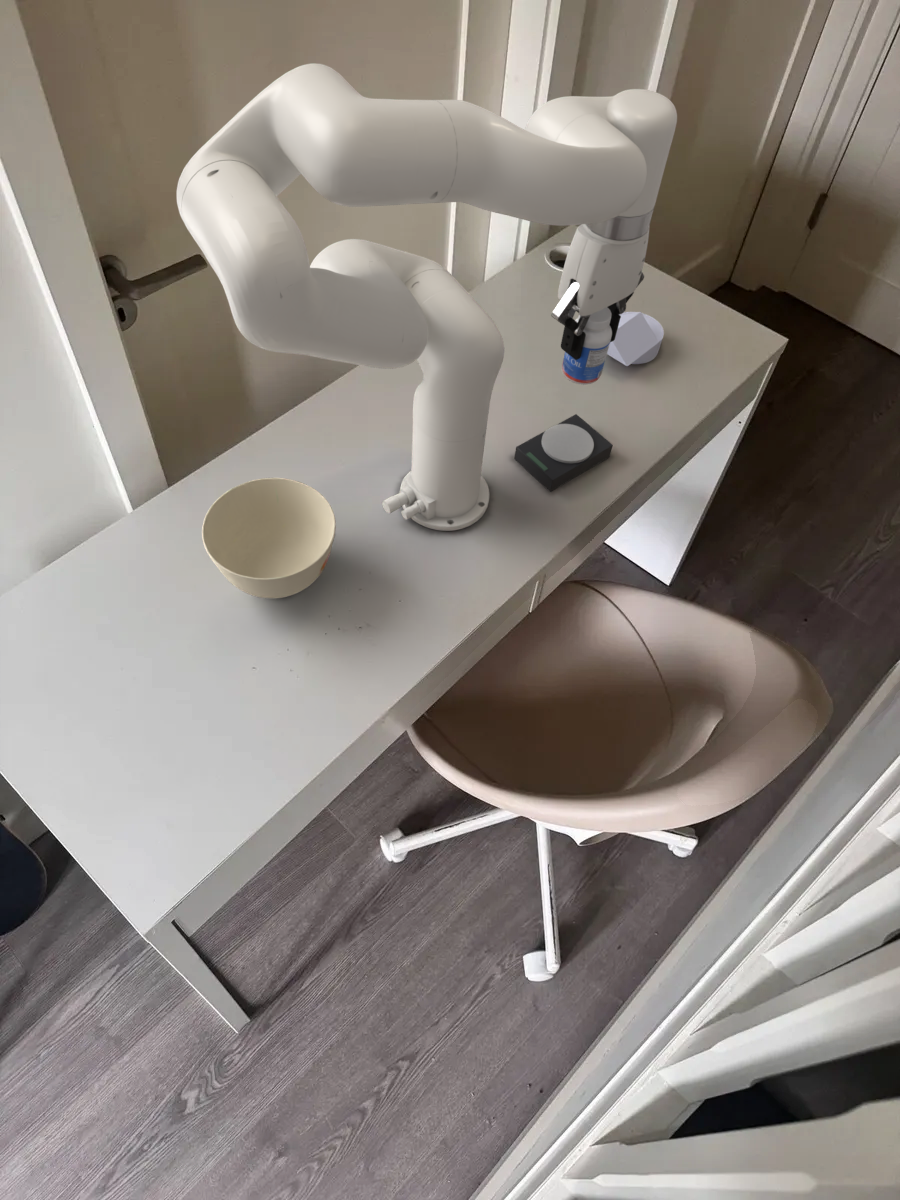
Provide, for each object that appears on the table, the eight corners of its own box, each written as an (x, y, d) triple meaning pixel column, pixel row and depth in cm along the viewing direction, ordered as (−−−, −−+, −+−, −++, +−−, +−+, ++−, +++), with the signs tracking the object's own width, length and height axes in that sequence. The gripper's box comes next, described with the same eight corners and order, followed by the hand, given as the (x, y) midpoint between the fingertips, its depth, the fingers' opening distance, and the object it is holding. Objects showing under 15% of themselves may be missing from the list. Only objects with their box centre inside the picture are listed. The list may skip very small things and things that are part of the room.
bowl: (279, 509, 119) (271, 458, 110) (365, 571, 113) (363, 522, 105) (189, 579, 111) (173, 529, 103) (276, 648, 106) (267, 602, 98)
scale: (550, 492, 123) (553, 477, 121) (513, 458, 126) (516, 444, 124) (609, 457, 128) (614, 442, 125) (573, 425, 131) (576, 411, 129)
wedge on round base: (622, 383, 137) (669, 346, 143) (632, 349, 132) (680, 312, 138) (578, 355, 141) (625, 321, 146) (586, 321, 135) (635, 287, 141)
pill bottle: (553, 364, 116) (566, 303, 108) (587, 355, 118) (602, 294, 110) (573, 390, 114) (588, 329, 106) (608, 380, 115) (625, 319, 107)
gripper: (646, 177, 102) (613, 306, 117) (539, 222, 95) (519, 353, 110) (693, 206, 99) (653, 336, 114) (586, 255, 92) (558, 386, 107)
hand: (587, 343), depth 112 cm, fingers closed on pill bottle, 5 cm apart
